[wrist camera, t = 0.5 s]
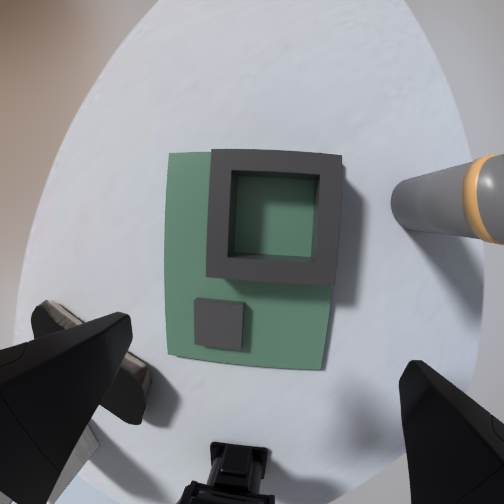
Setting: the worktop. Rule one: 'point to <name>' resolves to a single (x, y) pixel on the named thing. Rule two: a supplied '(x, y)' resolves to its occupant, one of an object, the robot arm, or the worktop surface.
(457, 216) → the plug
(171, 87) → the worktop surface
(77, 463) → the supplement box
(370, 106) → the worktop surface
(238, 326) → the header board
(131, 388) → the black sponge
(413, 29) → the worktop surface
